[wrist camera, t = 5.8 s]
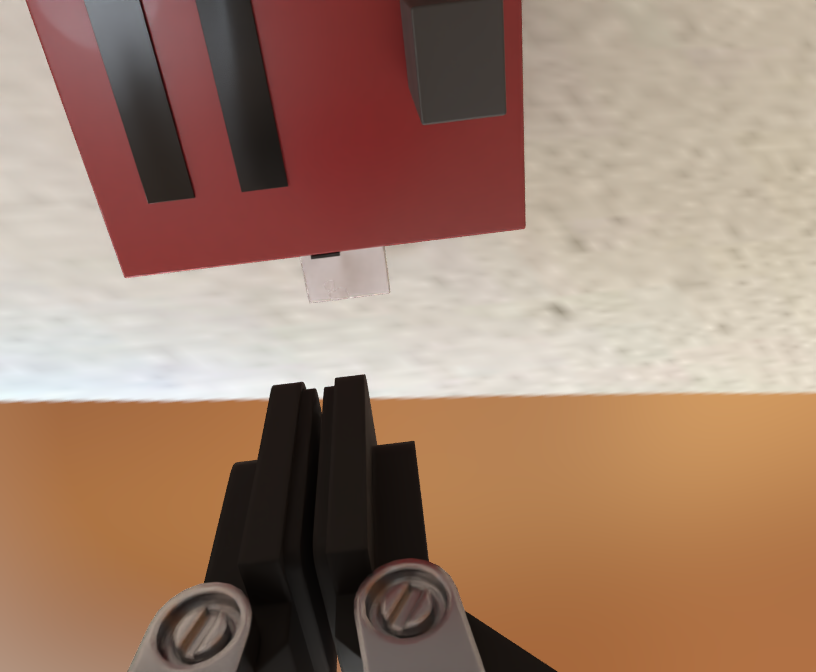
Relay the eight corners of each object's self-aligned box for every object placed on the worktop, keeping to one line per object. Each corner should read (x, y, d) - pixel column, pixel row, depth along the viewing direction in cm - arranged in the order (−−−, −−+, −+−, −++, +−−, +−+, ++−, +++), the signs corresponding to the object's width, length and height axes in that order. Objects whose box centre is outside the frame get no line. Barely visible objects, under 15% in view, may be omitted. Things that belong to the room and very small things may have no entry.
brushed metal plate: (293, 199, 23) (290, 210, 22) (376, 188, 23) (377, 199, 22) (311, 289, 25) (309, 303, 24) (389, 279, 25) (390, 293, 24)
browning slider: (399, -5, 15) (410, 6, 11) (469, -14, 15) (503, -5, 11) (408, 89, 16) (421, 126, 12) (475, 80, 16) (507, 115, 12)
